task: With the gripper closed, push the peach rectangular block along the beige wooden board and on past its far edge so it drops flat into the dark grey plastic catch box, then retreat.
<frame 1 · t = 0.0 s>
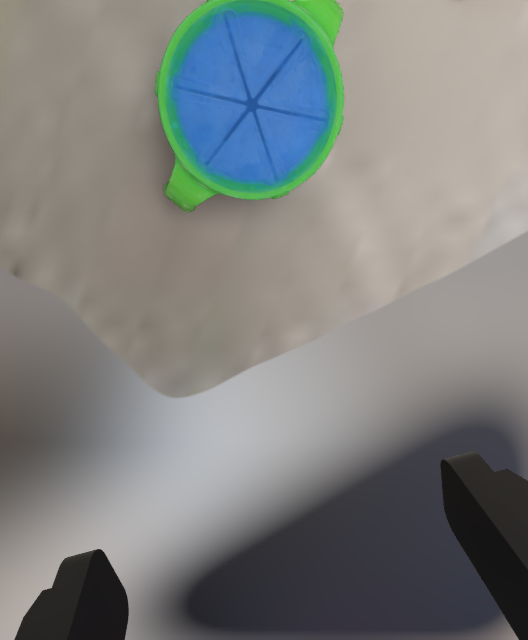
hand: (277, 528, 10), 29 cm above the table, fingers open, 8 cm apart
snack cup: (241, 114, 33), on the table
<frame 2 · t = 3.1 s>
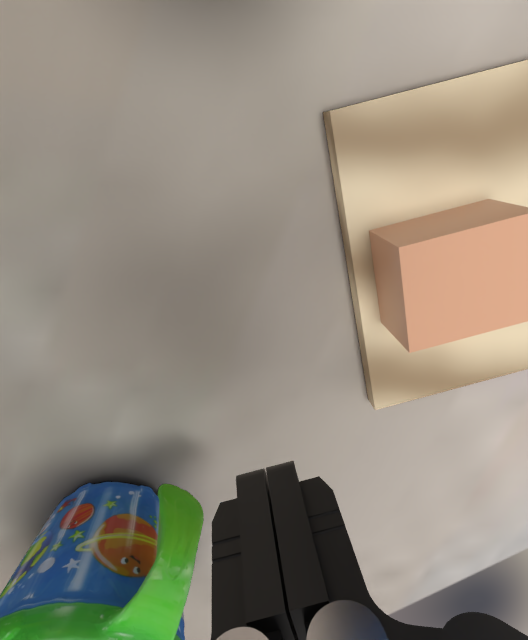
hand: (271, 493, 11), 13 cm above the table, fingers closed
snack cup: (116, 517, 27), on the table
beige wooden board: (457, 247, 22), on the table
peach rectangular block: (432, 263, 21), point 1 cm above the table, touching beige wooden board
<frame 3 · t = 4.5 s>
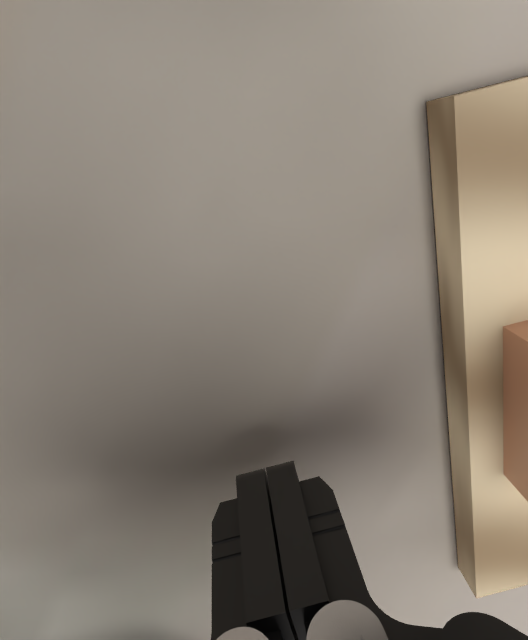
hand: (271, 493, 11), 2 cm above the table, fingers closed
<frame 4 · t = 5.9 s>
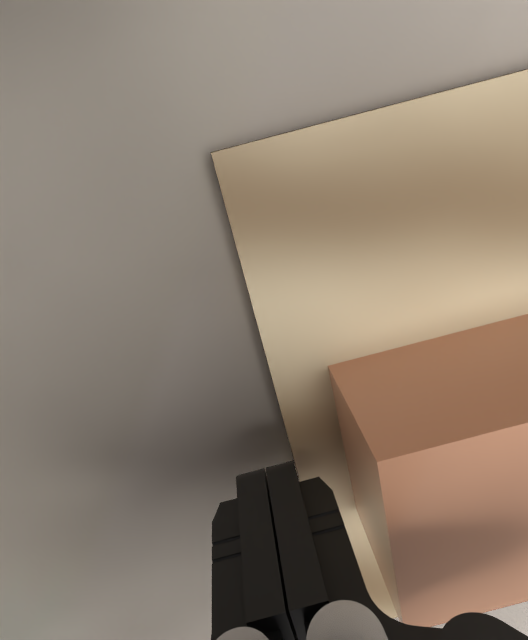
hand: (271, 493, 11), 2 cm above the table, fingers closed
beige wooden board: (479, 379, 13), on the table
peach rectangular block: (448, 415, 12), point 1 cm above the table, touching gripper, beige wooden board
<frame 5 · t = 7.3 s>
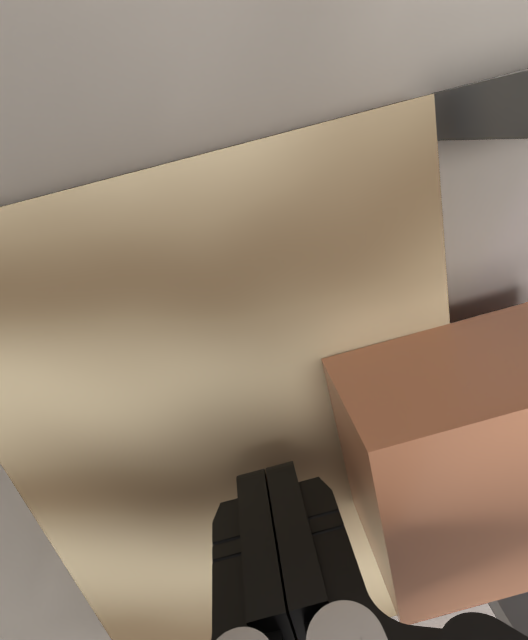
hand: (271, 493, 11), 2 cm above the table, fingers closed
beige wooden board: (243, 439, 13), on the table
peach rectangular block: (444, 407, 12), point 1 cm above the table, touching gripper, beige wooden board
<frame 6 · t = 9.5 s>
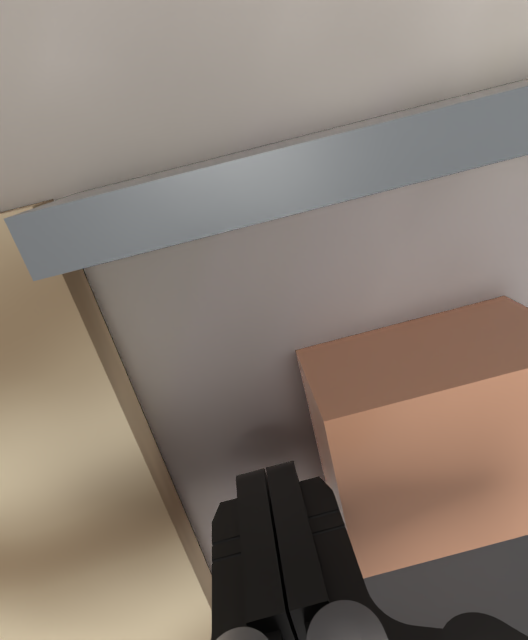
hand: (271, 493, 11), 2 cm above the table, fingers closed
catch box: (392, 408, 13), on the table
peach rectangular block: (405, 393, 13), on the table
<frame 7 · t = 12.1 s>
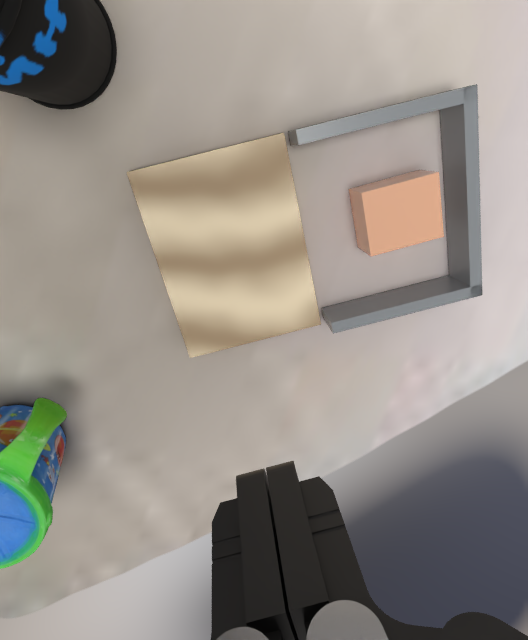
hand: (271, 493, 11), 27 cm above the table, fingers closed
catch box: (381, 213, 36), on the table
snack cup: (26, 433, 40), on the table
beige wooden board: (232, 252, 35), on the table
peach rectangular block: (386, 209, 36), on the table
aerosol can: (55, 42, 29), on the table
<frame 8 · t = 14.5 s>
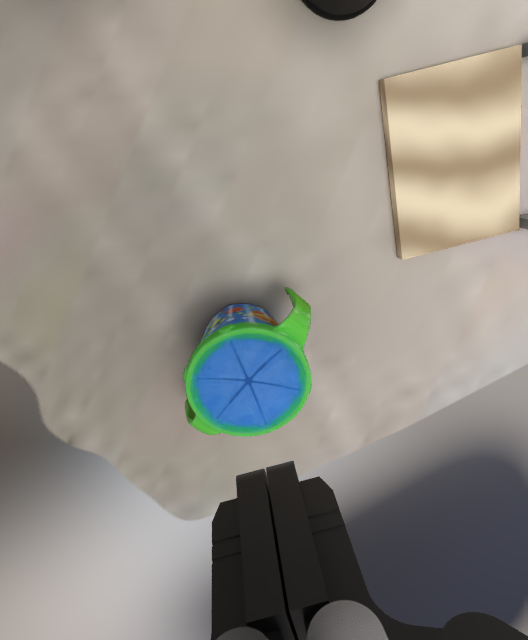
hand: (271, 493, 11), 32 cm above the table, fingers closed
snack cup: (241, 334, 44), on the table
beige wooden board: (450, 160, 40), on the table
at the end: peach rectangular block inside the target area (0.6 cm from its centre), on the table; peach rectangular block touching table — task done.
